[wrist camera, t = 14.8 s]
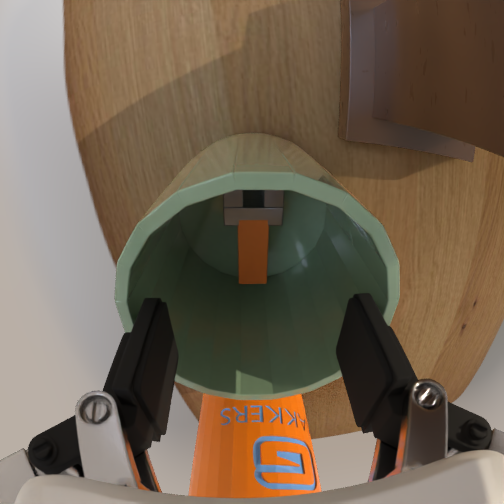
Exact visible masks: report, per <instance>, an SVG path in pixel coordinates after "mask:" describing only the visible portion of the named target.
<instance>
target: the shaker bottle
mask: <svg viewBox="0 0 504 504" xmlns="http://www.w3.org/2000/svg"><path fill="white" fill-rule="evenodd" d="M316 492H322V491H321V486H320V481H319V476H318V471H317V466H316V462H315V456H314V451H313V447H312V442H311V437H310V432H309V428H308V423H307V418H306V414H305V409H304V404H303V400H302V395H301V394H298V395H294V396H289V397H285V398H280V399H273V400H235V399H229V398H224V397H218V396H213V395H208V394H206V393H204V394H203V400H202V406H201V413H200V419H199V426H198V432H197V439H196V445H195V452H194V459H193V466H192V473H191V480H190V488H189V495H188V496H196V497H212V498H264V497H280V496H291V495H301V494H309V493H316Z"/></svg>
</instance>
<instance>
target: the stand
mask: <svg viewBox="0 0 504 504" xmlns="http://www.w3.org/2000/svg"><path fill="white" fill-rule="evenodd" d="M340 1H341V88H340V111H339V128H338V137H340V138H342V139H344V140H347V141H355V142H364V143H372V144H379V145H387V146H393V147H400V148H406V149H412V150H417V151H423V152H428V153H433V154H438V155H443V156H448V157H452V158H457V159H461V160H465V161H469V162H473V159H474V153H475V146H476V147H479V148H481V149H484V150H487V151H489V152H492V153H494V154H497V155H499V156H502V157H504V0H340Z"/></svg>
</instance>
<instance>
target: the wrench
mask: <svg viewBox="0 0 504 504" xmlns="http://www.w3.org/2000/svg"><path fill="white" fill-rule="evenodd" d="M283 207H284V190H235V191H232V192H228V193H225V194H223V215H224V226H238V277H239V284H266V283H267V266H268V240H269V226H282V225H283V210H284V208H283Z"/></svg>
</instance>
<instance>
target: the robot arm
mask: <svg viewBox="0 0 504 504" xmlns="http://www.w3.org/2000/svg"><path fill="white" fill-rule="evenodd" d="M336 356H337V360H338V363H339V366H340V370H341V373H342V376H343V380H344V383H345V386H346V390H347V393H348V397H349V400H350V404H351V407H352V411H353V414H354V418H355V422H356V425H357V426H358V427H361V428H362V432H363V433H368V432H373V434H374V437H375V438H377V442H376V447H375V452H374V457H373V462H372V466H371V471H370V476H369V479H368V483H364V484H359V485H355V486H351V487H345V488H340V489H334V490H329V491H323V492H316V493H309V494H301V495H291V496H280V497H264V498H212V497H196V496H184V495H175V494H166V493H162V491H161V489H160V486H159V483H158V481H157V478H156V476H155V472H154V469H153V467H152V464H151V461H150V458H149V455H148V451H147V449H148V448H150V447H151V443H152V441H157V442H158V441H159V442H160V437H161V435H165V434H166V430H167V423H168V417H169V411H170V405H171V398H172V392H173V387H174V381H175V376H176V370H177V365H178V358H179V355H178V349H177V345H176V341H175V337H174V333H173V329H172V324H171V320H170V316H169V311H168V307H167V303H166V302H162V300H161V298H145V299H144V300H143V303H142V305H141V308H140V310H139V313H138V315H137V318H136V320H135V323H134V326H133V328H132V331H131V332H126V333H124V335H123V337H122V339H121V342H120V345H119V347H118V350H117V352H116V355H115V358H114V360H113V363H112V366H111V368H110V371H109V374H108V377H107V380H106V383H105V386H104V388H103V391H92V392H89V393H87V394H85V395H84V396H82V397H81V398H80V400H79V401H78V402H77V405H76V408H75V415H74V416H73V417H71V418H69V419H67V420H65V421H63V422H61V423H60V424H58V425H56V426H54V427H52V428H50V429H48V430H46V431H45V432H42V433H41V434H39V435H37V436H36V437H34V438H33V439H32V441H31V442H30V444H29V447H28V450H25V449H21V450H19V451H17V452H15V453H13V454H11V455H9V456H7V457H5V458H3V459H2V460H0V504H504V432H502V431H499V430H497V429H493V430H491V427H490V425H489V423H488V422H487V421H486V420H485V419H484V418H482V417H480V416H478V415H476V414H474V413H472V412H469V411H467V410H465V409H463V408H461V407H458V406H456V405H454V404H452V403H450V402H447V394H446V391H445V389H444V387H443V386H442V385H441V384H440V383H438V382H436V381H435V380H432V379H420V380H418V379H417V377H416V375H415V373H414V371H413V369H412V367H411V364H410V362H409V360H408V358H407V356H406V354H405V352H404V350H403V348H402V346H401V344H400V343H399V341H398V339H397V337H396V335H395V333H394V331H393V329H392V328H391V327H390V326H389V325H387V323H386V322H385V320H384V318H383V316H382V314H381V312H380V310H379V308H378V307H377V305H376V303H375V301H374V299H373V298H372V296H371V294H370V293H359V294H354V295H353V298H349V300H348V304H347V308H346V312H345V316H344V320H343V324H342V328H341V331H340V335H339V339H338V342H337V346H336Z"/></svg>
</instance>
